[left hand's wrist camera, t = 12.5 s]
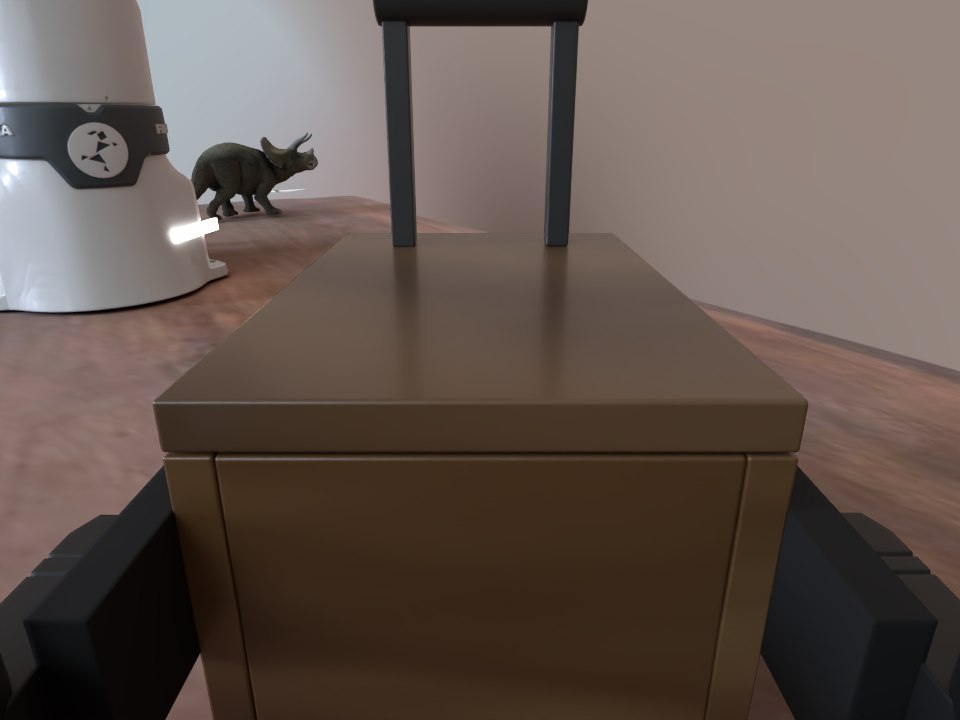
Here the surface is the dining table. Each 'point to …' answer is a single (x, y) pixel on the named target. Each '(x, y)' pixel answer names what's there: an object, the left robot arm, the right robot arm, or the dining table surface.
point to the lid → (480, 323)
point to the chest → (480, 582)
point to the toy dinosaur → (247, 173)
